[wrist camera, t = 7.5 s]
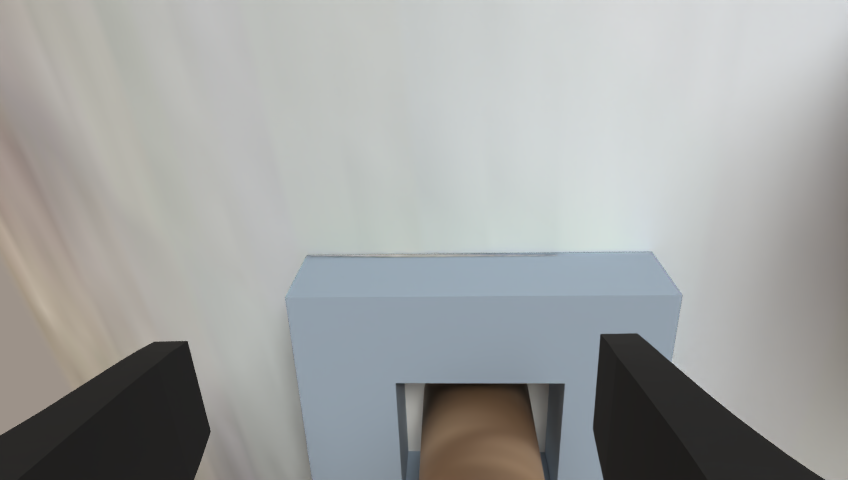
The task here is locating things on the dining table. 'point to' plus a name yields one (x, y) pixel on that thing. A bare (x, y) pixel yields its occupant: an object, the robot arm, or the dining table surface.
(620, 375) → the robot arm
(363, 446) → the socket block
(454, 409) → the peg
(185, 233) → the dining table surface
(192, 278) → the dining table surface
